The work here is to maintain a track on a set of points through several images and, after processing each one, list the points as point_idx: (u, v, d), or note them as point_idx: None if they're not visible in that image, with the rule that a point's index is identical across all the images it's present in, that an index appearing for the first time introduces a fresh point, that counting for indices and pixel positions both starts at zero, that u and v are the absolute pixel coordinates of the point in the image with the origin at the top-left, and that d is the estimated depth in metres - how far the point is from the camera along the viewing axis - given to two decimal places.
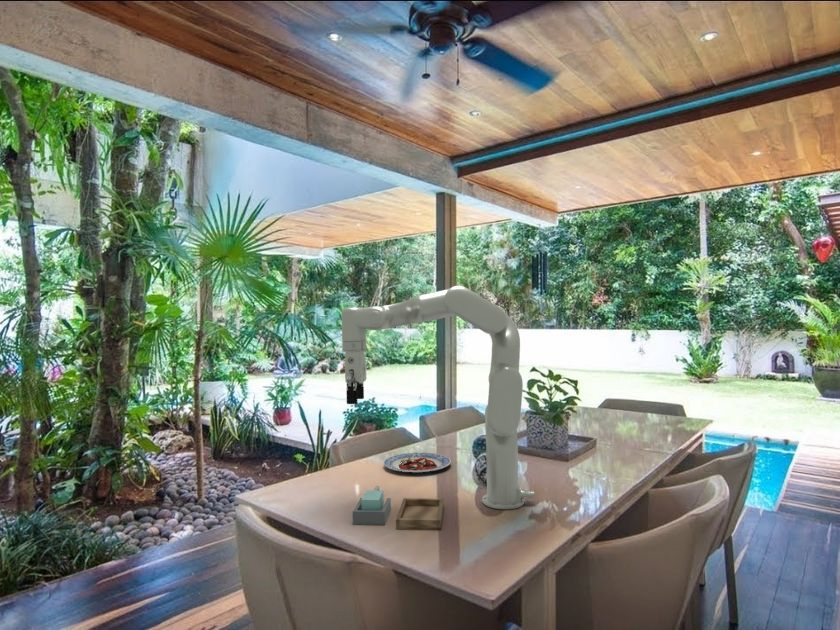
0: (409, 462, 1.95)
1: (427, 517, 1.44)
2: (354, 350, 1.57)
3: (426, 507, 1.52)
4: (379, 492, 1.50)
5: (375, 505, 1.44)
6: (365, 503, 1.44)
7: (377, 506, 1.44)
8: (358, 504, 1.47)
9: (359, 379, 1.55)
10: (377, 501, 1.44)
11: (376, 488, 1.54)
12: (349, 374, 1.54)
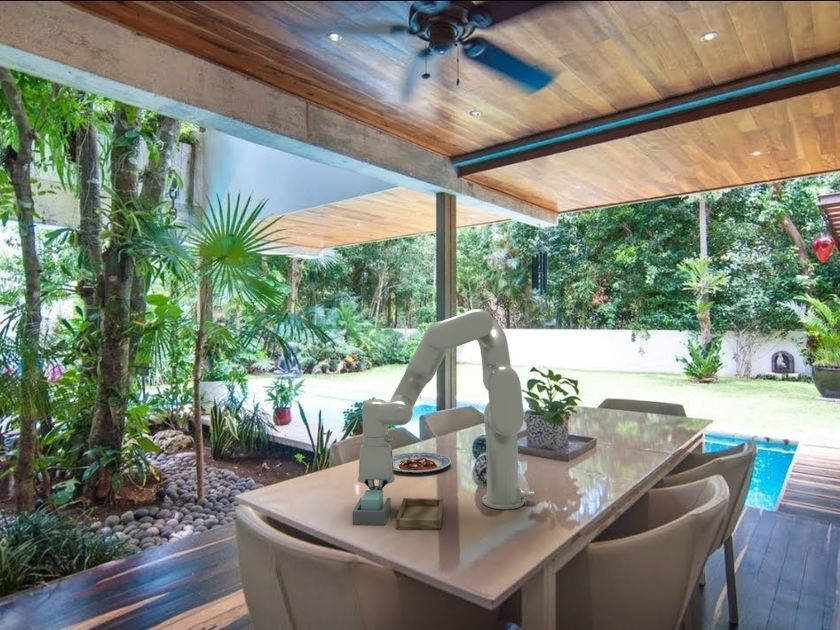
0: (409, 462, 1.95)
1: (427, 517, 1.44)
2: (387, 443, 1.55)
3: (426, 507, 1.52)
4: (379, 492, 1.50)
5: (375, 504, 1.44)
6: (364, 503, 1.44)
7: (377, 506, 1.44)
8: (358, 504, 1.47)
9: None
10: (376, 501, 1.44)
11: (376, 488, 1.54)
12: (392, 474, 1.54)
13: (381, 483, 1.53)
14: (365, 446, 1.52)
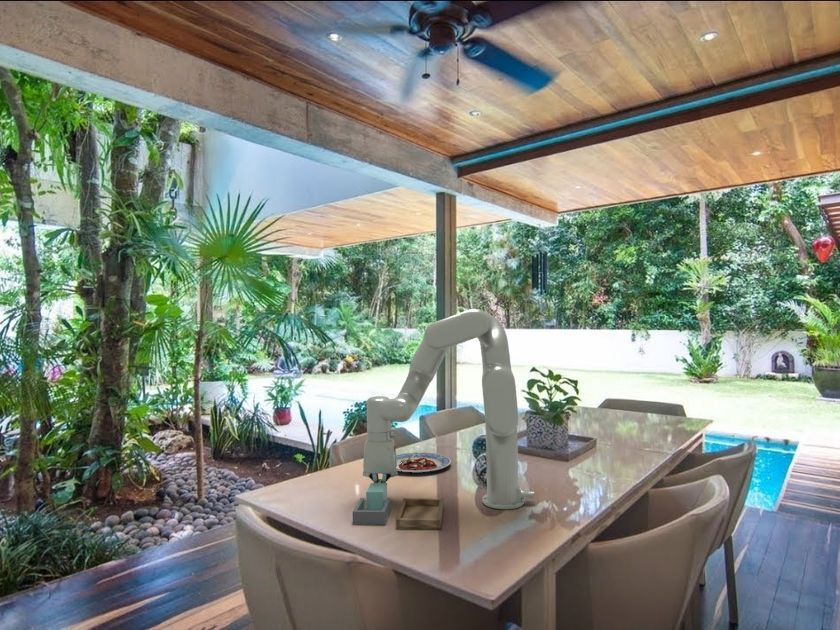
0: (409, 462, 1.95)
1: (427, 517, 1.44)
2: None
3: (426, 507, 1.52)
4: (383, 484, 1.57)
5: (379, 496, 1.50)
6: (369, 495, 1.51)
7: (381, 498, 1.50)
8: (358, 504, 1.47)
9: None
10: (381, 493, 1.50)
11: (380, 481, 1.60)
12: (395, 468, 1.60)
13: (385, 477, 1.59)
14: (369, 441, 1.59)
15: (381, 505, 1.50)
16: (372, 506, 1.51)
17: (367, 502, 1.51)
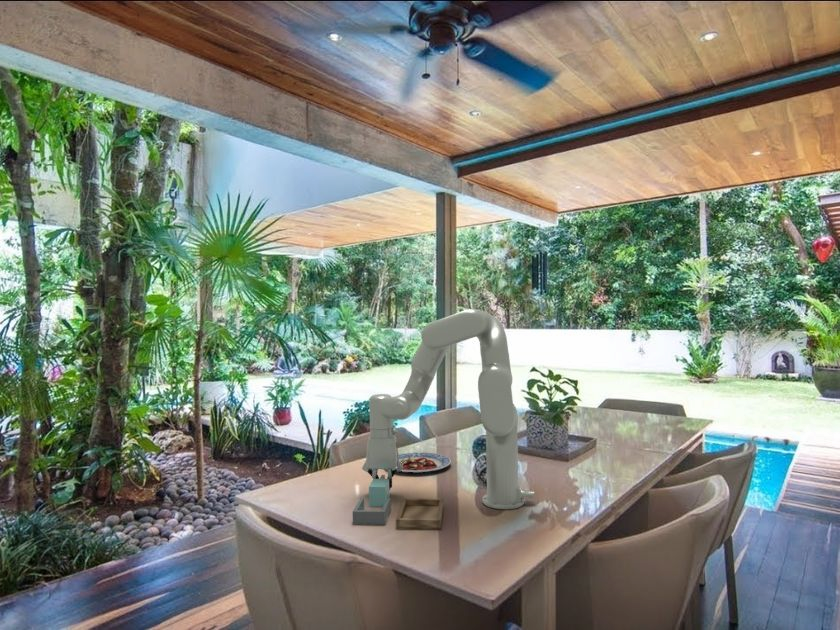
0: (409, 462, 1.95)
1: (427, 517, 1.44)
2: None
3: (426, 507, 1.52)
4: (385, 480, 1.61)
5: (381, 491, 1.55)
6: (372, 490, 1.55)
7: (383, 492, 1.55)
8: (358, 504, 1.47)
9: None
10: (383, 488, 1.55)
11: (382, 476, 1.65)
12: (400, 463, 1.65)
13: (390, 472, 1.64)
14: (372, 438, 1.63)
15: (383, 500, 1.55)
16: (374, 501, 1.55)
17: (370, 497, 1.55)
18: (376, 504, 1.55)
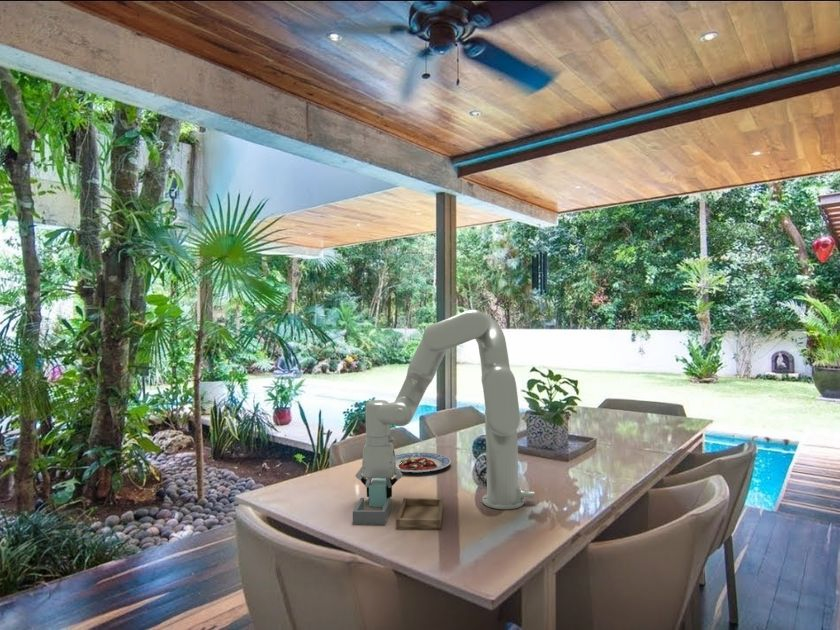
0: (409, 462, 1.95)
1: (427, 517, 1.44)
2: (390, 443, 1.60)
3: (426, 507, 1.52)
4: (385, 480, 1.61)
5: (382, 491, 1.55)
6: (372, 490, 1.55)
7: (383, 492, 1.55)
8: (358, 504, 1.47)
9: None
10: (383, 488, 1.55)
11: None
12: (398, 470, 1.58)
13: (389, 481, 1.57)
14: (368, 446, 1.57)
15: (383, 499, 1.55)
16: (374, 501, 1.55)
17: (370, 496, 1.55)
18: (376, 504, 1.55)
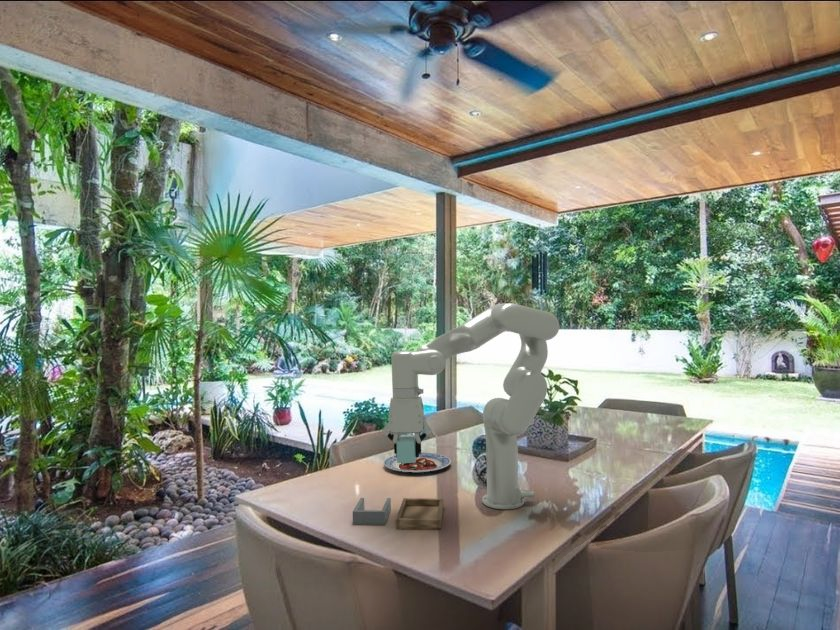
0: None
1: (427, 517, 1.44)
2: (418, 395, 1.49)
3: (426, 507, 1.52)
4: (413, 436, 1.50)
5: (410, 446, 1.44)
6: (400, 445, 1.45)
7: (412, 448, 1.44)
8: (358, 504, 1.47)
9: None
10: (412, 443, 1.44)
11: (410, 433, 1.54)
12: (428, 425, 1.47)
13: (418, 436, 1.46)
14: (395, 398, 1.46)
15: (412, 455, 1.44)
16: (403, 457, 1.44)
17: (397, 452, 1.45)
18: (405, 460, 1.44)
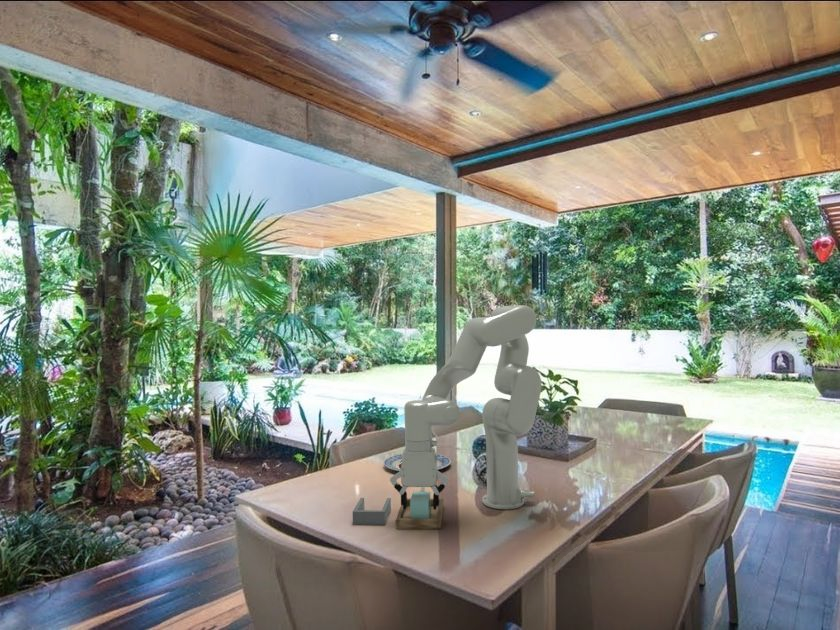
0: None
1: None
2: None
3: None
4: (426, 493, 1.46)
5: (424, 506, 1.40)
6: (414, 505, 1.40)
7: (426, 508, 1.40)
8: (358, 504, 1.47)
9: None
10: (426, 503, 1.40)
11: (422, 489, 1.50)
12: (443, 475, 1.43)
13: (434, 488, 1.42)
14: (408, 451, 1.41)
15: (426, 516, 1.40)
16: (416, 517, 1.40)
17: (411, 512, 1.40)
18: None
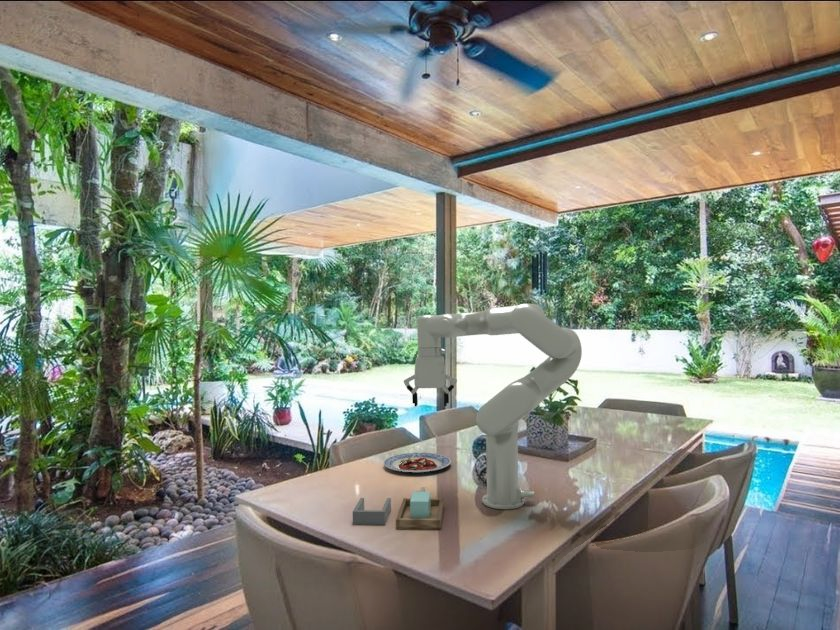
0: (409, 462, 1.95)
1: None
2: None
3: None
4: (426, 493, 1.46)
5: (424, 506, 1.40)
6: (414, 505, 1.40)
7: (426, 508, 1.40)
8: (358, 504, 1.47)
9: None
10: (426, 503, 1.40)
11: (422, 489, 1.50)
12: (451, 377, 1.66)
13: (445, 388, 1.64)
14: (421, 356, 1.64)
15: (426, 516, 1.40)
16: (416, 517, 1.40)
17: (411, 512, 1.40)
18: None
